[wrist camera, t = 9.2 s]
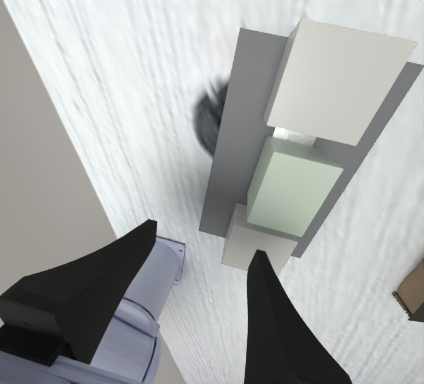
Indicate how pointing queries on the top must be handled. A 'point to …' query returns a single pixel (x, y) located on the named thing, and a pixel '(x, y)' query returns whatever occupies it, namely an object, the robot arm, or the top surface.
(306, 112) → the mounted modules
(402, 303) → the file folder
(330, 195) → the rail board
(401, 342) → the top surface
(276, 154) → the block
